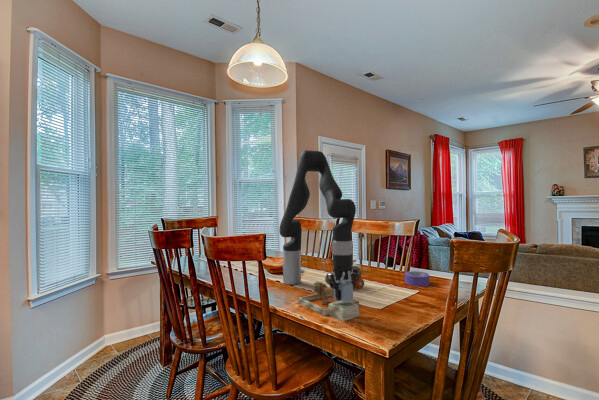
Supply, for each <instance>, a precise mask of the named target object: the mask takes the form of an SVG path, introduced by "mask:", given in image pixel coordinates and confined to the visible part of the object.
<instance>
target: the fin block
mask: <svg viewBox="0 0 599 400" xmlns="http://www.w3.org/2000/svg"><path fill="white" fill-rule="evenodd" d="M353 292H354V288H353V284H351V283H348V282H344V281H343V284H342V285H341V300H340V301H343V302H348V301H352V300H353V299H354V293H353ZM334 298H335V299H334V300H336V297H335V289H334Z"/></svg>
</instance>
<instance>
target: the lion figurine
mask: <svg viewBox="0 0 599 400" xmlns="http://www.w3.org/2000/svg"><path fill="white" fill-rule="evenodd" d="M312 291H313V292H314V293H315V294H319V295H320V296H322V298H321V299H322V300H323V302H322V305H325V304H327V303H330V302H329V301H330V300H329V297H333V298H334V289H333V288H331V287H330V286H327V285H326V284H325V283H323V282H321V281H315V282H314V283H313V288H312ZM325 296H326V297H325ZM334 300H335V301H336V302H337V301H340V300H337V299H335V298H334Z"/></svg>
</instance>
